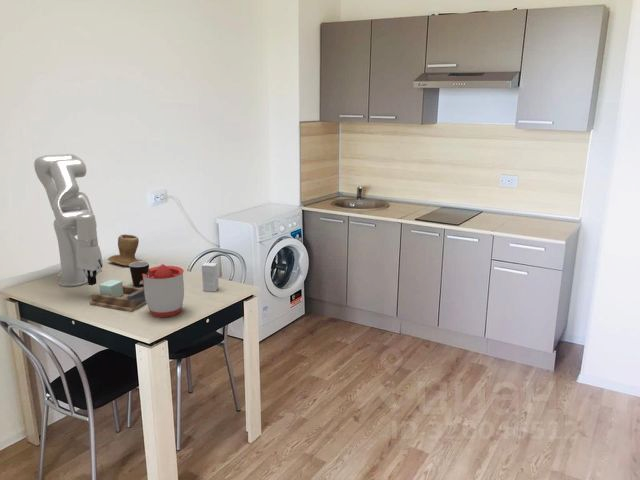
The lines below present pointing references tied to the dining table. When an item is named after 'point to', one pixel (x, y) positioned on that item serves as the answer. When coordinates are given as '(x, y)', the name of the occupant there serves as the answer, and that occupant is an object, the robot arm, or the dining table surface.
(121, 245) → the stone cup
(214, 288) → the skincare box
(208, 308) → the dining table surface
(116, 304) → the rail board
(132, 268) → the coffee mug
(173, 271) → the citrus juicer
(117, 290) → the block
